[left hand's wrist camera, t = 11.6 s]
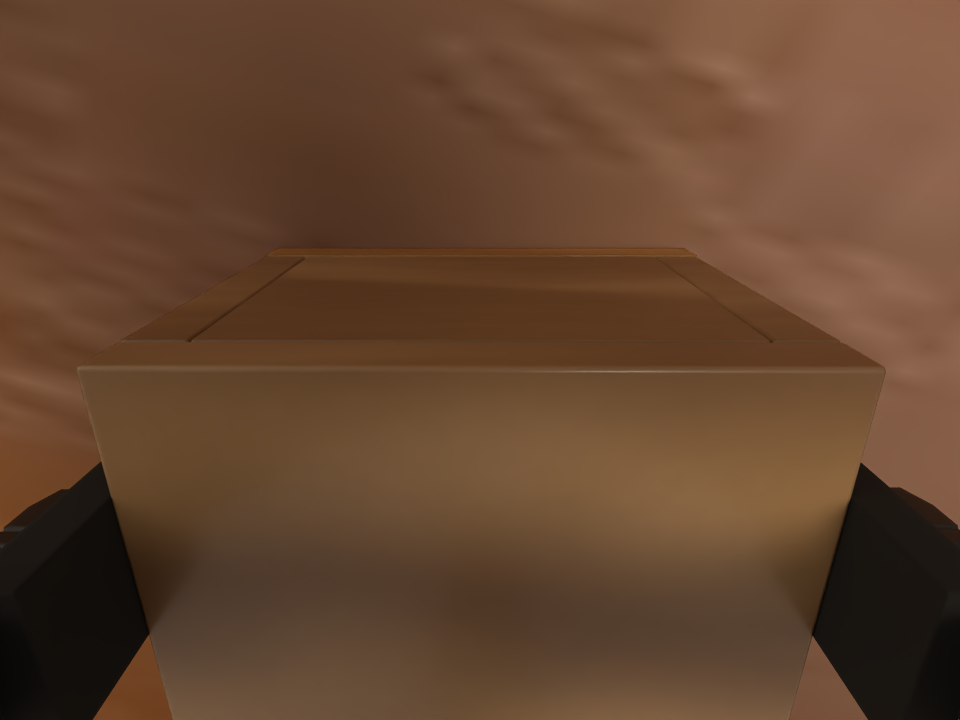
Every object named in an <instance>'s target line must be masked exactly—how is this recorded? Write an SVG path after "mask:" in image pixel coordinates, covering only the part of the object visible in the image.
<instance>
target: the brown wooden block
mask: <svg viewBox="0 0 960 720" xmlns="http://www.w3.org/2000/svg"><path fill="white" fill-rule="evenodd" d="M77 375H78V379H79V383H80V386H81V390H82V393H83V397H84V401H85V404H86V408H87V412H88V415H89V419H90V422H91V426H92V430H93V433H94V437H95V440H96V444H97V448H98V451H99V455H100V458H101V462H102V466H103V469H104V473H105V477H106V480H107V484H108V487H109V491H110V495H111V498H112V502H113V505H114V509H115V513H116V516H117V520H118V524H119V527H120V531H121V534H122V538H123V542H124V545H125V549H126V552H127V556H128V560H129V563H130V567H131V570H132V574H133V578H134V581H135V585H136V589H137V592H138V596H139V599H140V603H141V607H142V610H143V614H144V617H145V621H146V625H147V628H148V632H149V635H150V639H151V643H152V646H153V650H154V654H155V657H156V661H157V664H158V668H159V672H160V675H161V679H162V682H163V686H164V690H165V693H166V697H167V701H168V704H169V708H170V711H171V715H172V719H173V720H789V718H790V714H791V711H792V707H793V704H794V700H795V696H796V693H797V689H798V686H799V682H800V678H801V675H802V671H803V668H804V664H805V661H806V657H807V653H808V650H809V646H810V643H811V639H812V635H813V632H814V628H815V625H816V621H817V617H818V614H819V610H820V607H821V603H822V599H823V596H824V592H825V589H826V585H827V581H828V578H829V574H830V571H831V567H832V563H833V560H834V556H835V553H836V549H837V545H838V542H839V538H840V535H841V531H842V528H843V524H844V520H845V517H846V513H847V510H848V506H849V502H850V499H851V495H852V492H853V488H854V484H855V481H856V477H857V474H858V470H859V466H860V463H861V459H862V456H863V452H864V448H865V445H866V441H867V438H868V434H869V430H870V427H871V423H872V420H873V416H874V413H875V409H876V405H877V402H878V398H879V395H880V391H881V387H882V384H883V380H884V377H885V368H884V366H882V365H880V364H878V363H877V362H875V361H873V360H872V359H870V358H868V357H866V356H865V355H863V354H861V353H860V352H858V351H856V350H854V349H853V348H851V347H849V346H848V345H846V344H843V343H840V341H839V340H838V339H836V338H834V337H832V336H831V335H829V334H827V333H825V332H824V331H822V330H820V329H819V328H817V327H815V326H813V325H812V324H810V323H808V322H807V321H805V320H803V319H801V318H800V317H798V316H796V315H795V314H793V313H791V312H789V311H788V310H786V309H784V308H783V307H781V306H779V305H777V304H776V303H774V302H772V301H770V300H769V299H767V298H765V297H764V296H762V295H760V294H758V293H757V292H755V291H753V290H752V289H750V288H748V287H746V286H745V285H743V284H741V283H740V282H738V281H736V280H734V279H733V278H731V277H729V276H728V275H726V274H724V273H722V272H721V271H719V270H717V269H716V268H714V267H712V266H710V265H709V264H707V263H705V262H703V261H702V260H700V259H698V258H697V255H695V254H693V253H691V252H690V251H688V250H686V249H684V248H278V249H276V250H274V251H273V252H271V253H269V254H267V255H266V257H265V258H263V259H261V260H260V261H258V262H256V263H254V264H253V265H251V266H249V267H247V268H246V269H244V270H242V271H241V272H239V273H237V274H235V275H234V276H232V277H230V278H228V279H227V280H225V281H223V282H221V283H220V284H218V285H216V286H214V287H213V288H211V289H209V290H207V291H206V292H204V293H202V294H200V295H199V296H197V297H195V298H194V299H192V300H190V301H188V302H187V303H185V304H183V305H181V306H180V307H178V308H176V309H174V310H173V311H171V312H169V313H167V314H166V315H164V316H162V317H160V318H159V319H157V320H155V321H153V322H152V323H150V324H148V325H147V326H145V327H143V328H141V329H140V330H138V331H136V332H134V333H133V334H131V335H129V336H127V337H126V338H124V339H122V340H121V342H119V343H117V344H115V345H113V346H111V347H110V348H108V349H106V350H105V351H103V352H101V353H99V354H98V355H96V356H94V357H92V358H91V359H89V360H87V361H85V362H84V363H82V364H80V365H78V367H77Z"/></svg>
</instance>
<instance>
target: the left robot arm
mask: <svg viewBox="0 0 960 720" xmlns="http://www.w3.org/2000/svg"><path fill="white" fill-rule="evenodd" d="M148 635H149V632H148V628H147V625H146V621H145V617H144V614H143V610H142V607H141V603H140V599H139V596H138V592H137V589H136V585H135V581H134V578H133V574H132V570H131V567H130V563H129V560H128V556H127V552H126V549H125V545H124V542H123V538H122V534H121V531H120V527H119V524H118V520H117V516H116V513H115V509H114V505H113V502H112V498H111V495H110V491H109V487H108V484H107V480H106V477H105V473H104V469H103V466H102V462H100V463H99V464H98V465H96V466H95V467H94V468H93V469H92V470H91V471H90V472H88V473H87V474H86V475H85V476H84V477H83V478H82V479H80V480H79V481H78V482H77V483H76V484H75V485H74V486H72V487H71V488H70V489H61V490H59V491H58V492H56V493H54V494H52V495H50V496H48V497H46V498H45V499H43V500H41V501H39V502H37V503H35V504H33V505H32V506H30V507H28V508H27V509H26V510H25V511H23V512H22V513H21V514H20V515H19V516H17V517H16V518H15V519H14V520H12V521H11V522H10V523H9V524H8V525H6V526H5V527H4V531H3V532H0V720H93V718H94V717H95V715H96V714H97V712H98V711H99V709H100V708H101V706H102V705H103V703H104V702H105V700H106V699H107V697H108V696H109V694H110V692H111V691H112V689H113V688H114V686H115V685H116V683H117V682H118V680H119V679H120V677H121V676H122V674H123V673H124V671H125V670H126V668H127V667H128V665H129V664H130V662H131V661H132V659H133V658H134V656H135V655H136V653H137V652H138V650H139V648H140V647H141V645H142V644H143V642H144V641H145V639H146V638H147V636H148ZM813 637H814V638H815V640H816V641H817V643H818V644H819V646H820V647H821V649H822V650H823V652H824V653H825V655H826V656H827V658H828V660H829V661H830V663H831V664H832V666H833V667H834V669H835V670H836V672H837V673H838V675H839V676H840V678H841V679H842V681H843V682H844V684H845V685H846V687H847V688H848V690H849V691H850V693H851V694H852V696H853V697H854V699H855V700H856V702H857V704H858V705H859V707H860V708H861V710H862V711H863V713H864V714H865V716H866V717H867V719H868V720H958V719H959V720H960V530H959V529H958V525H956V524H955V523H954V522H953V521H952V520H950V519H949V518H948V517H947V516H946V515H944V514H943V513H942V512H941V511H939V510H938V509H937V508H936V507H935V506H933V505H932V504H930V503H928V502H926V501H924V500H922V499H921V498H919V497H917V496H915V495H913V494H911V493H909V492H907V491H906V490H904V489H902V488H890V487H888V486H887V485H886V484H885V483H884V482H883V481H882V480H880V479H879V478H878V477H877V476H876V475H875V474H874V473H872V472H871V471H870V470H869V469H868V468H867V467H865V466H864V465H863V464H862V463H860V466H859V470H858V474H857V477H856V481H855V484H854V488H853V492H852V495H851V499H850V502H849V506H848V510H847V513H846V517H845V520H844V524H843V528H842V531H841V535H840V538H839V542H838V545H837V549H836V553H835V556H834V560H833V563H832V567H831V571H830V574H829V578H828V581H827V585H826V589H825V592H824V596H823V599H822V603H821V607H820V610H819V614H818V617H817V621H816V625H815V628H814V632H813Z"/></svg>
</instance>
